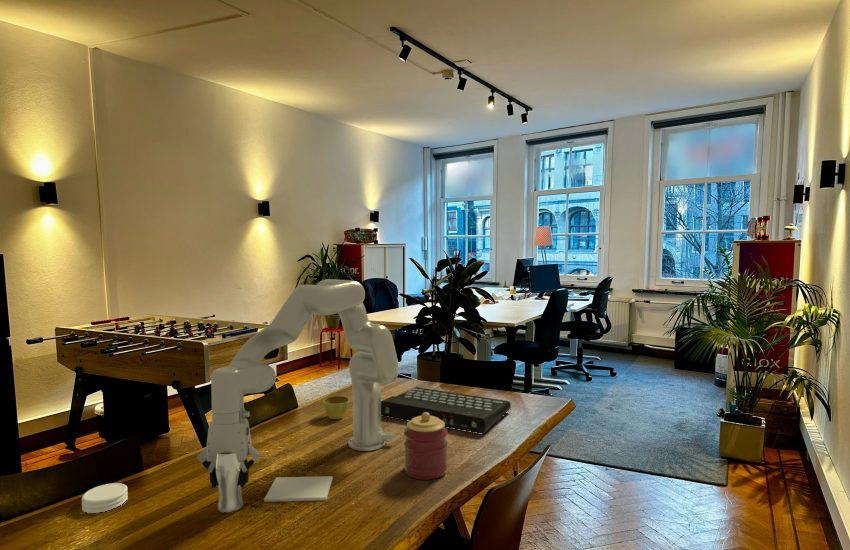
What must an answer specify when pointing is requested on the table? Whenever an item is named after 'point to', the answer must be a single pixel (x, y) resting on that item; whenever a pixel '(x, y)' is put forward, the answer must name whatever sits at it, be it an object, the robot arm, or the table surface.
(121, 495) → the white round disc stack
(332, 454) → the table surface
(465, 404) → the computer keyboard
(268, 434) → the table surface
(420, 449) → the canister
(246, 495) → the table surface
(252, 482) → the table surface
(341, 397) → the flower pot
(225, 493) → the beer glass
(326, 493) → the grey mat
